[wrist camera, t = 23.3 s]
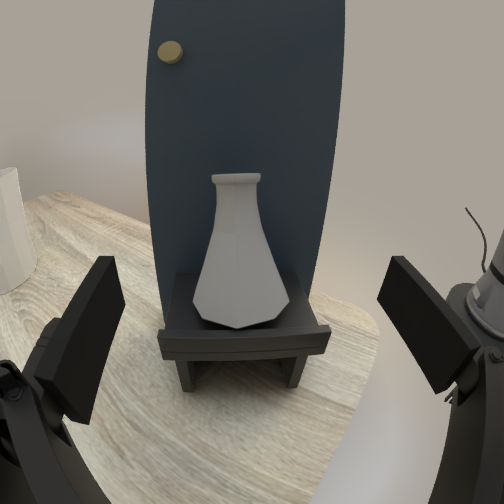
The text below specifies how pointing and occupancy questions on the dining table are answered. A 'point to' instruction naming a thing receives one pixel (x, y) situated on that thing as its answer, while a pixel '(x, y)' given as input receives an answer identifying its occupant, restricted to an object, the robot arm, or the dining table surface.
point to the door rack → (241, 159)
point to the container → (13, 234)
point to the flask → (238, 260)
